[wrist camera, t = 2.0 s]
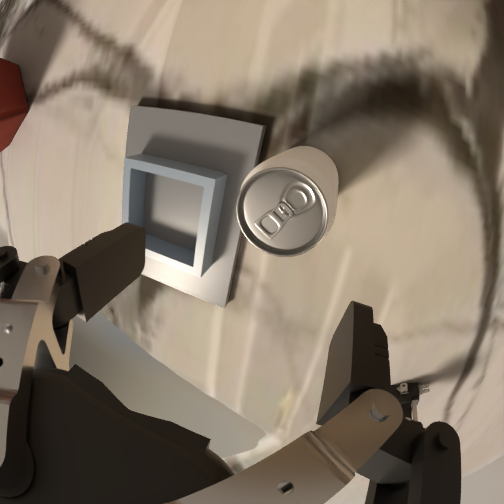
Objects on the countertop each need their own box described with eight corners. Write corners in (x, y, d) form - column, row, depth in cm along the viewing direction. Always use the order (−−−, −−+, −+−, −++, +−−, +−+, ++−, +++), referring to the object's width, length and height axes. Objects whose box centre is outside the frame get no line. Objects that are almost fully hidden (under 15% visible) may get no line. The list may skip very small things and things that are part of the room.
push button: (428, 371, 32) (436, 429, 23) (427, 393, 34) (432, 446, 25) (385, 380, 35) (385, 438, 26) (387, 400, 36) (386, 454, 28)
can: (352, 180, 26) (358, 219, 16) (305, 221, 29) (281, 281, 19) (304, 131, 25) (278, 136, 15) (260, 176, 28) (209, 211, 18)
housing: (137, 105, 29) (113, 106, 25) (266, 125, 26) (253, 126, 22) (128, 261, 39) (110, 275, 36) (227, 302, 37) (215, 322, 33)
